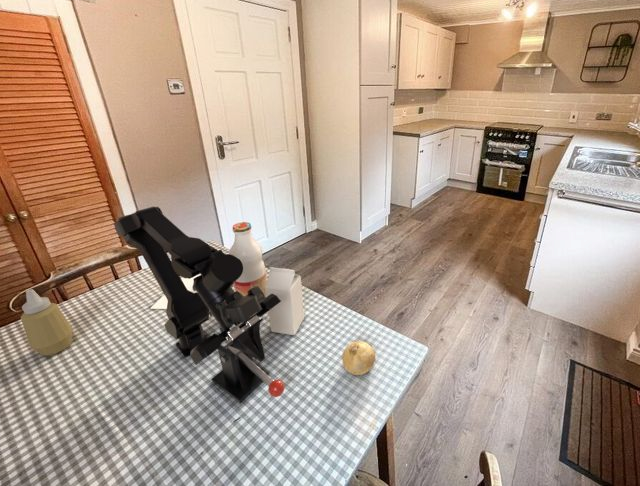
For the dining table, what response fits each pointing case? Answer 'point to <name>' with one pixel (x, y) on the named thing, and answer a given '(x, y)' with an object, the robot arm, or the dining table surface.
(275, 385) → the lever
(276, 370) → the dining table surface
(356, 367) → the onion
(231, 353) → the bracket
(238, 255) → the fruit juice
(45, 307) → the squeeze bottle
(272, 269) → the milk carton
